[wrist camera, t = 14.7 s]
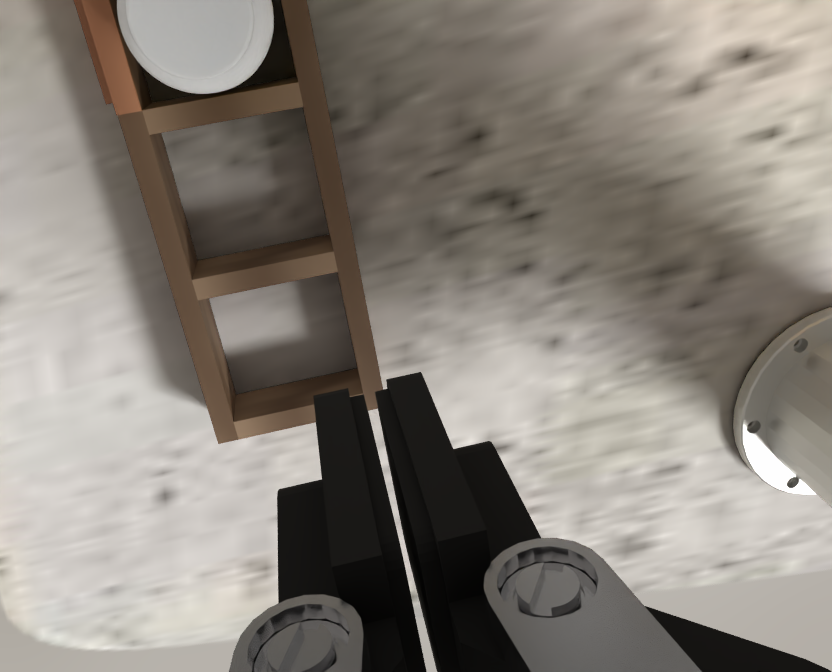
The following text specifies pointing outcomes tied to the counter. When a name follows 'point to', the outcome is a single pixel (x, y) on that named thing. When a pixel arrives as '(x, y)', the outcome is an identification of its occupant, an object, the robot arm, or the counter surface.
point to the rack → (246, 268)
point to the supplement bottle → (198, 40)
